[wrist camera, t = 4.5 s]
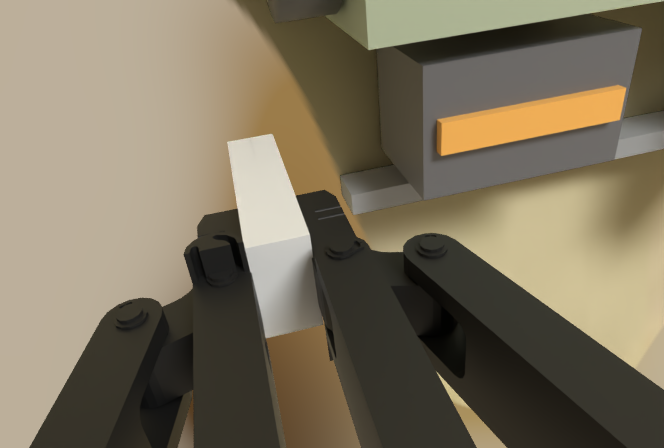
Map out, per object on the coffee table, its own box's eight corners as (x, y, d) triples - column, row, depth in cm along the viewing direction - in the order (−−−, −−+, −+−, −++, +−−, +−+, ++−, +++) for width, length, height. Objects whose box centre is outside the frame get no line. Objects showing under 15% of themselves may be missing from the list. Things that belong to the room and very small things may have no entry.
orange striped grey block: (381, 149, 24) (427, 205, 19) (375, 35, 21) (427, 69, 16) (542, 117, 25) (621, 163, 20) (556, 5, 22) (650, 30, 18)
